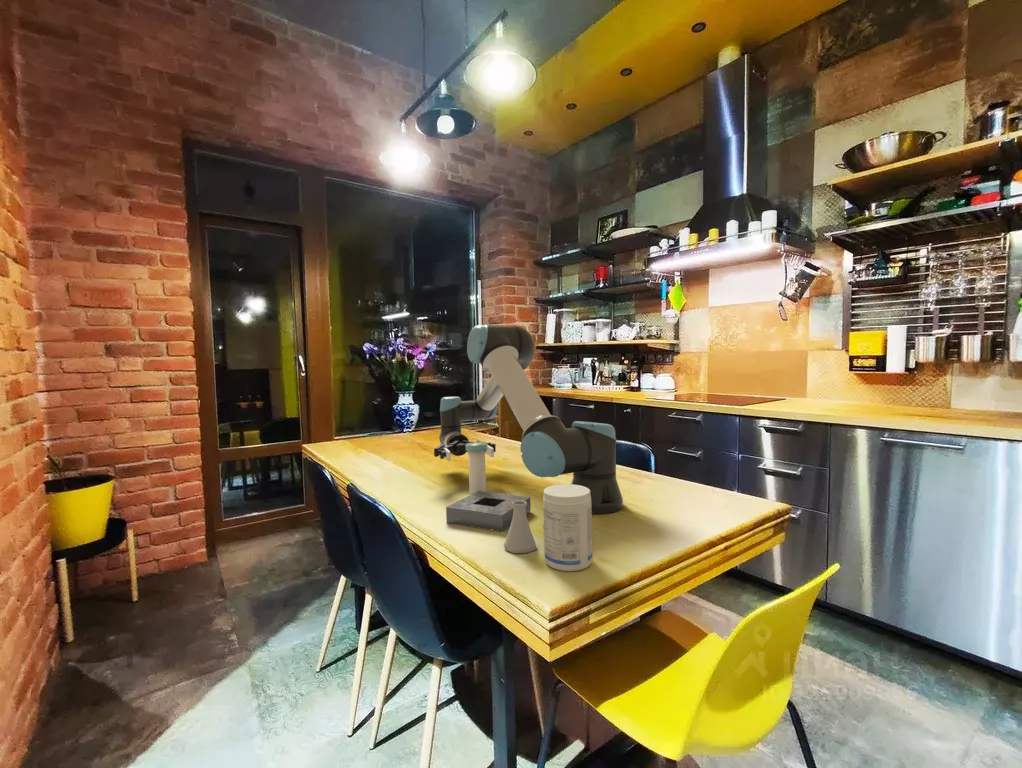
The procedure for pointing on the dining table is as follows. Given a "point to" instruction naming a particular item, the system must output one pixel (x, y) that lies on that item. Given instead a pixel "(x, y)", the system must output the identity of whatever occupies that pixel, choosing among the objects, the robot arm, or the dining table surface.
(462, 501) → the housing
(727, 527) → the dining table surface
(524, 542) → the flask
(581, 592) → the dining table surface
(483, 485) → the teal-capped white peg
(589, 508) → the supplement tub
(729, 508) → the dining table surface
